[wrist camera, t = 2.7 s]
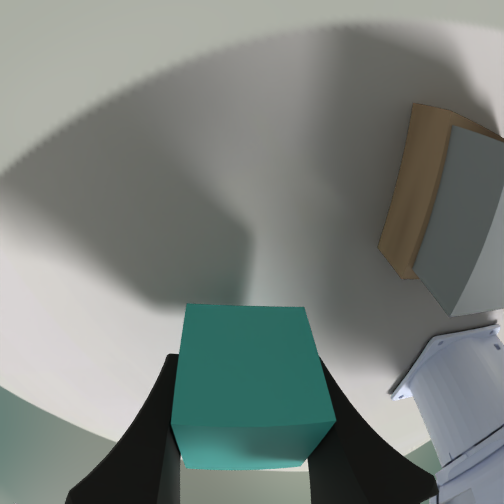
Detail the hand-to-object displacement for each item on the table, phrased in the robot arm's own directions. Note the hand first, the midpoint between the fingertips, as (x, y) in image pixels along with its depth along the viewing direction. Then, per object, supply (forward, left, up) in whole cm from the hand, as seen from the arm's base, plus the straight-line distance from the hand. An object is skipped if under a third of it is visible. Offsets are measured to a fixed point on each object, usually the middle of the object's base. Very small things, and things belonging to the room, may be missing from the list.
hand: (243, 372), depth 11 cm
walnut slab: (-10, -7, -5) cm, 13 cm away
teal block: (0, 0, -2) cm, 2 cm away
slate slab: (-10, -7, -2) cm, 12 cm away
